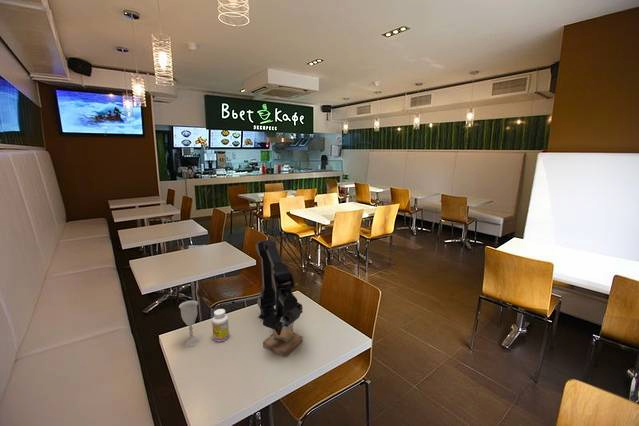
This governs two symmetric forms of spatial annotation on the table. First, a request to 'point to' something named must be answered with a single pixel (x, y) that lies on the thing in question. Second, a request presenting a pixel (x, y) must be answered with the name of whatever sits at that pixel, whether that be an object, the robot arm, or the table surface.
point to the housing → (285, 330)
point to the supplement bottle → (220, 325)
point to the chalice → (189, 319)
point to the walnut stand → (282, 344)
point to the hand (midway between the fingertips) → (282, 331)
